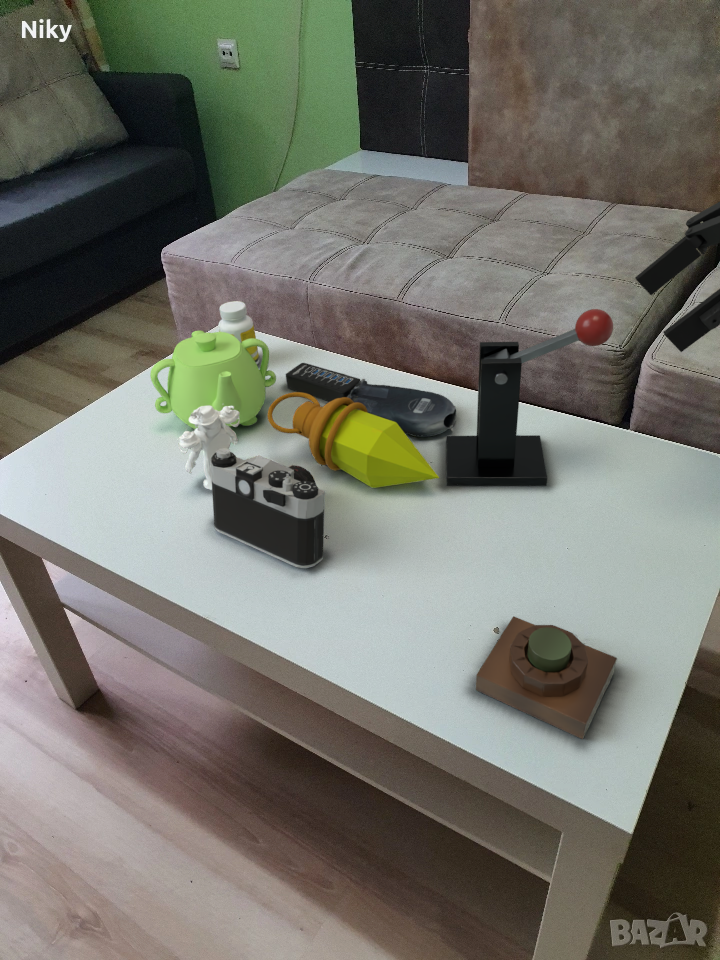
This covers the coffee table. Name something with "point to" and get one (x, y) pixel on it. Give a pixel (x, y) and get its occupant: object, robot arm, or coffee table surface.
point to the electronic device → (407, 407)
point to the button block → (546, 679)
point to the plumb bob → (356, 441)
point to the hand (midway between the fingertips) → (656, 312)
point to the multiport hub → (320, 382)
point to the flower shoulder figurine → (208, 436)
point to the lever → (568, 336)
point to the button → (549, 649)
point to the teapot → (214, 377)
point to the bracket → (496, 431)
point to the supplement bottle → (238, 324)
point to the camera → (269, 507)
